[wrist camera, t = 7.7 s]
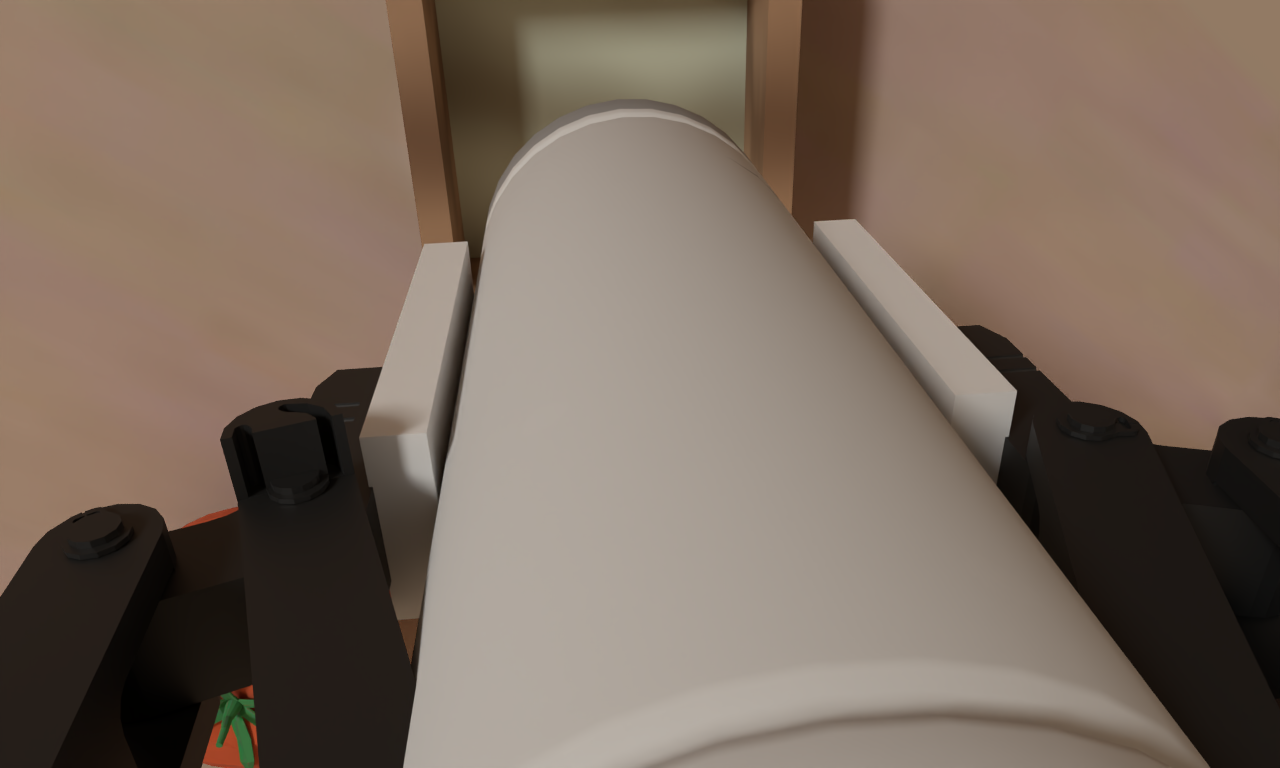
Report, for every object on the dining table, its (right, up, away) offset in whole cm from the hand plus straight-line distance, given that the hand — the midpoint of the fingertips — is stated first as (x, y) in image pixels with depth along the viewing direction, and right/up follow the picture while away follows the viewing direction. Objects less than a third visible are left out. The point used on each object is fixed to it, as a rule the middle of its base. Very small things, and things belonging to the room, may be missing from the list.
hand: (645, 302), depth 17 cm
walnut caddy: (-2, +8, +15) cm, 17 cm away
